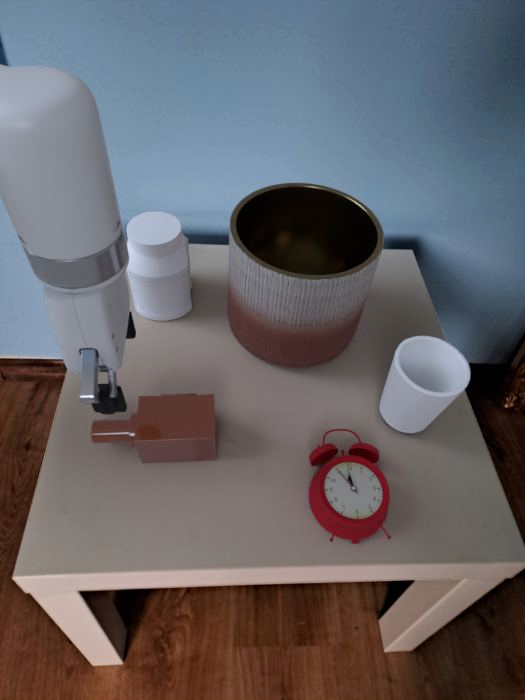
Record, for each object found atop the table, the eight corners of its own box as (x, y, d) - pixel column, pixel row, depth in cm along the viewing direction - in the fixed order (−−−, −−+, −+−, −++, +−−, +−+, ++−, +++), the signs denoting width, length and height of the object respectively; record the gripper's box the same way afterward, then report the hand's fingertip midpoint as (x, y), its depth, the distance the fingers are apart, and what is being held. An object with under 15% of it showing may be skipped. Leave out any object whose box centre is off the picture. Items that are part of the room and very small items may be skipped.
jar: (139, 275, 84) (125, 204, 72) (191, 274, 85) (186, 204, 73) (134, 322, 77) (118, 252, 65) (192, 320, 78) (185, 251, 66)
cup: (378, 444, 66) (406, 397, 56) (363, 387, 72) (386, 335, 62) (444, 441, 67) (483, 394, 57) (424, 385, 73) (456, 334, 63)
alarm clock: (319, 544, 53) (308, 419, 60) (310, 546, 59) (301, 432, 65) (406, 540, 54) (385, 417, 61) (389, 542, 60) (372, 430, 66)
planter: (227, 275, 85) (228, 178, 70) (344, 278, 87) (370, 183, 71) (226, 372, 72) (227, 278, 56) (364, 373, 74) (402, 282, 58)
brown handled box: (215, 460, 63) (96, 465, 61) (215, 405, 68) (104, 408, 67) (214, 438, 58) (84, 443, 56) (214, 380, 63) (94, 383, 62)
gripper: (51, 184, 41) (93, 312, 55) (-2, 331, 31) (66, 445, 44) (136, 186, 42) (157, 312, 56) (112, 329, 32) (145, 442, 45)
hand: (117, 371), depth 50 cm, fingers open, 9 cm apart
